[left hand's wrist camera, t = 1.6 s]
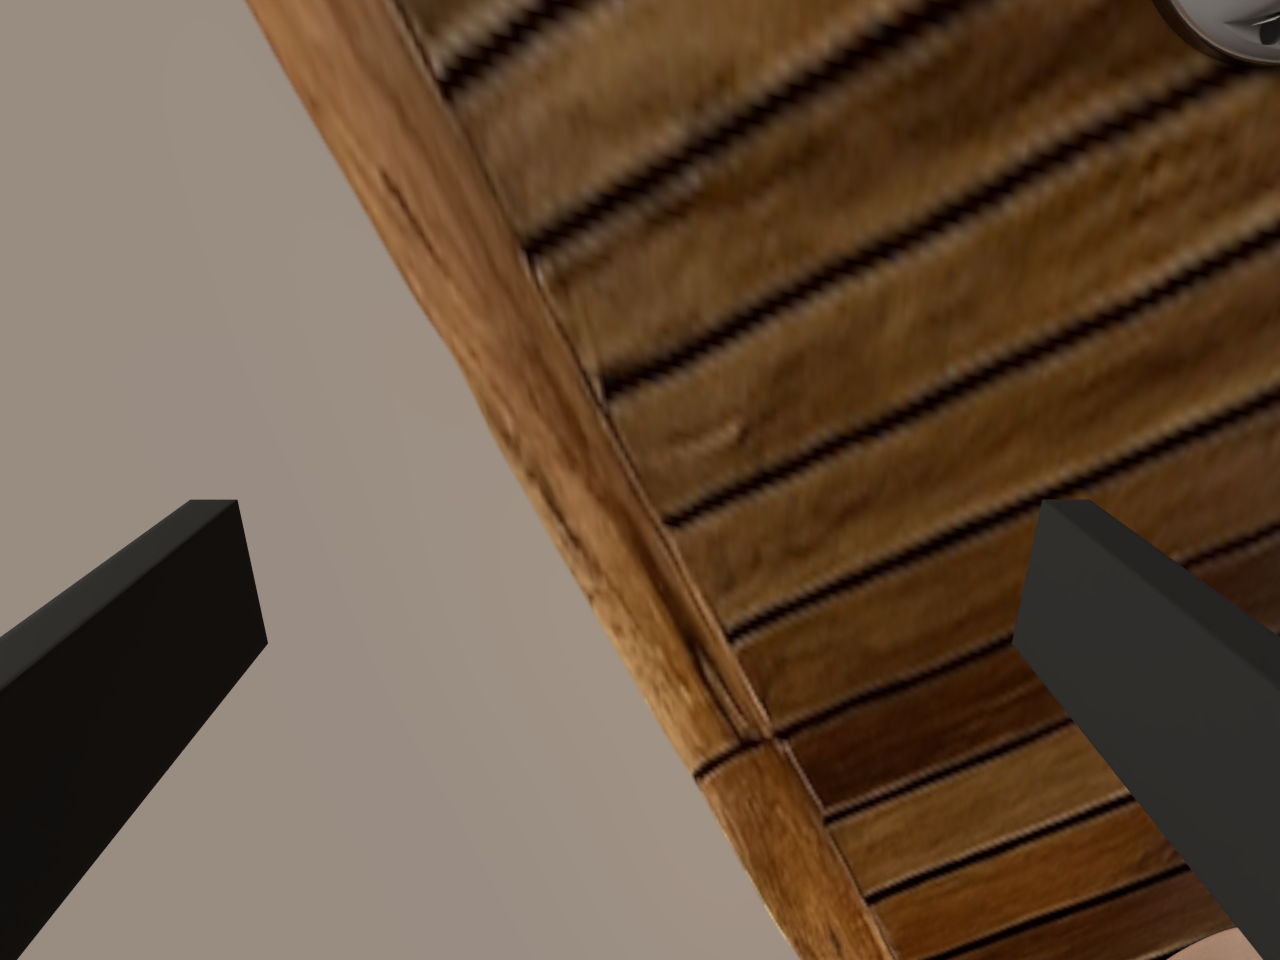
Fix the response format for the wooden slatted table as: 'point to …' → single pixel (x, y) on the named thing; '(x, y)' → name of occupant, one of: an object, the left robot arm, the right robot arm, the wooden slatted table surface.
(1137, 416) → the wooden slatted table surface
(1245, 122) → the wooden slatted table surface
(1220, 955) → the anatomical model
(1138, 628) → the left robot arm
